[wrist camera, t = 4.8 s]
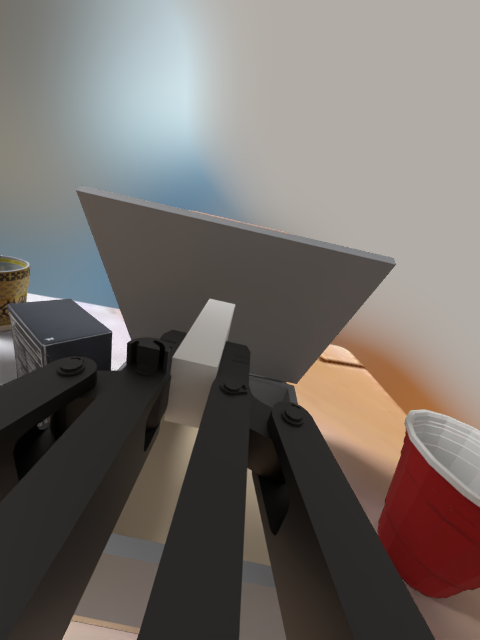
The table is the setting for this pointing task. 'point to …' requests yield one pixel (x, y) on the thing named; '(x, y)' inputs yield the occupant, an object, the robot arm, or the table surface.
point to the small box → (57, 335)
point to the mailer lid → (229, 278)
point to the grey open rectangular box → (152, 529)
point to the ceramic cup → (12, 286)
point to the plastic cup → (435, 506)
